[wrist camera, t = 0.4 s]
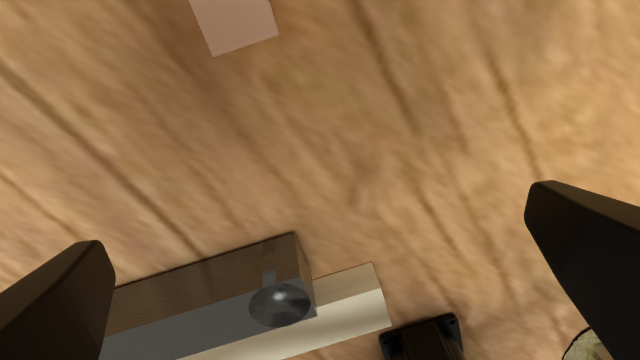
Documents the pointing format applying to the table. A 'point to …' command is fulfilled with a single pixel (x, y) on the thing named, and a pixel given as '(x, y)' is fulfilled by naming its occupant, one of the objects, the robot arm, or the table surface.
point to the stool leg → (211, 303)
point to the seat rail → (318, 320)
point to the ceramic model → (588, 348)
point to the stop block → (234, 23)
